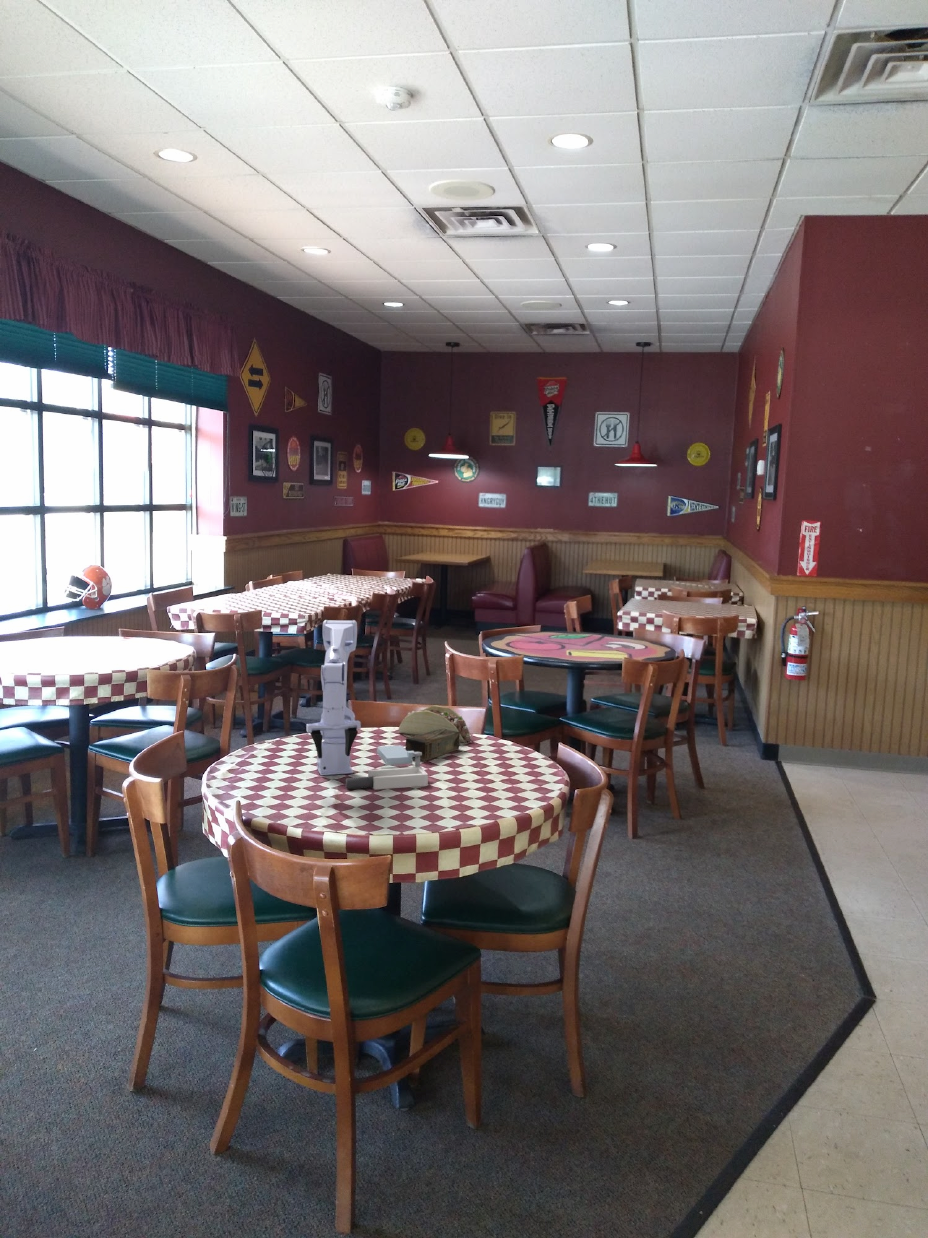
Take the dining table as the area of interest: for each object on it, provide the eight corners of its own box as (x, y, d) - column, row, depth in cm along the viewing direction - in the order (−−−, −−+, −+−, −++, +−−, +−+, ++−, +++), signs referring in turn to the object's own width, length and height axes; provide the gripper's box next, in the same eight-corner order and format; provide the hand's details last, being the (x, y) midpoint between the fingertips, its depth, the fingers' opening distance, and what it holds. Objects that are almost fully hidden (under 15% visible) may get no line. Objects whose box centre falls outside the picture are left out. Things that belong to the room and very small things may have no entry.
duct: (374, 789, 248) (374, 767, 247) (367, 779, 257) (367, 758, 256) (428, 785, 252) (428, 763, 252) (419, 775, 262) (419, 754, 261)
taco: (407, 729, 317) (407, 701, 316) (477, 739, 305) (477, 709, 303) (392, 735, 308) (392, 706, 307) (463, 746, 296) (464, 715, 295)
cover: (377, 753, 271) (377, 742, 271) (409, 751, 274) (409, 740, 274) (388, 767, 256) (388, 756, 256) (422, 765, 259) (422, 753, 259)
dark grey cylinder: (346, 791, 249) (348, 787, 246) (345, 780, 250) (346, 776, 248) (375, 789, 251) (377, 785, 249) (374, 778, 253) (375, 774, 250)
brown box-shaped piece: (460, 749, 292) (461, 729, 291) (424, 763, 276) (424, 741, 275) (440, 745, 296) (440, 725, 295) (403, 758, 280) (403, 737, 280)
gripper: (310, 711, 241) (310, 762, 242) (363, 708, 246) (363, 757, 247) (304, 706, 247) (304, 755, 249) (356, 703, 252) (356, 751, 254)
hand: (333, 756), depth 248 cm, fingers open, 7 cm apart
